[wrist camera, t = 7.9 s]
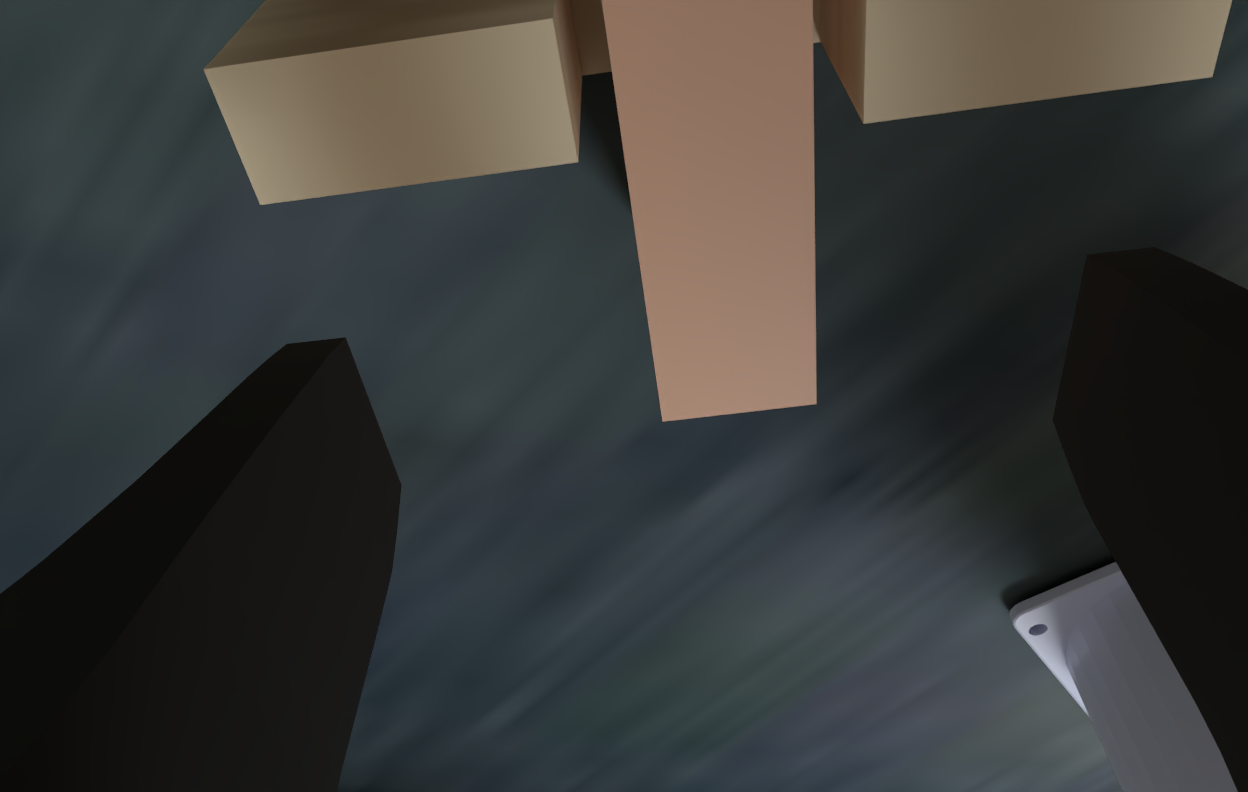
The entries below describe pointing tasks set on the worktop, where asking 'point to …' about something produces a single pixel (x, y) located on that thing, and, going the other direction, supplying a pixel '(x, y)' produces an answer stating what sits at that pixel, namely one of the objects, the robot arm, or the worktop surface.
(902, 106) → the tan notched block
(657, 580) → the worktop surface
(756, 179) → the tan flat notched board
